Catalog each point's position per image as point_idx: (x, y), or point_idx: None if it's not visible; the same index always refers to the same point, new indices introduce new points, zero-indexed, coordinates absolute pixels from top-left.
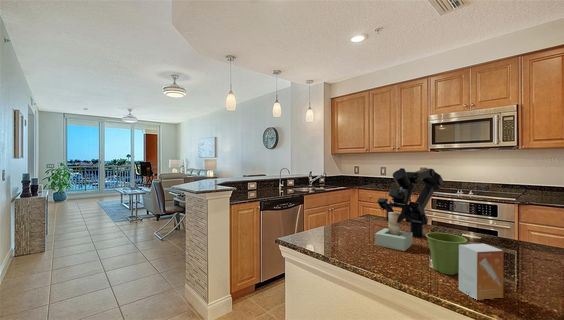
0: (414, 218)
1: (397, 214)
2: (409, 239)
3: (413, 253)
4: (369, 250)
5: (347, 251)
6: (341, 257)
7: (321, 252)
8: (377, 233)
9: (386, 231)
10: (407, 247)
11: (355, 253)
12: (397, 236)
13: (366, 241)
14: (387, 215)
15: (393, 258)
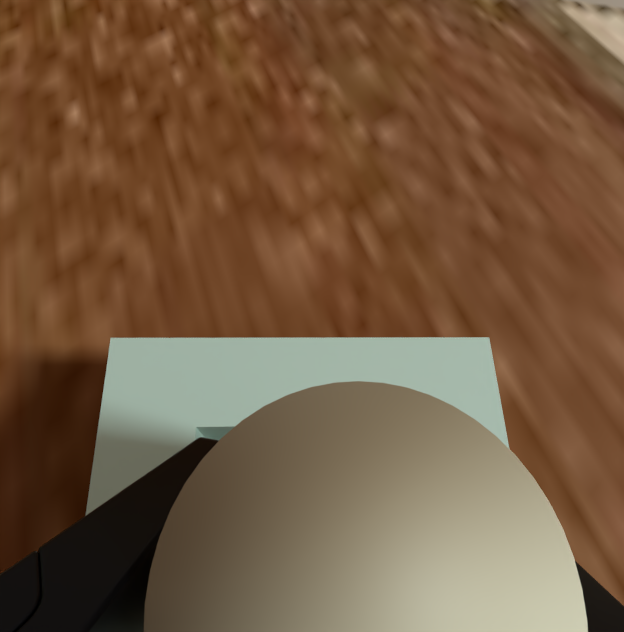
0: None
1: (194, 470)
2: None
3: (63, 372)
4: (403, 217)
5: (504, 115)
6: (462, 21)
7: (597, 25)
8: (471, 360)
9: None
10: None
11: (442, 112)
12: (213, 387)
13: (567, 440)
14: None
15: (191, 166)
